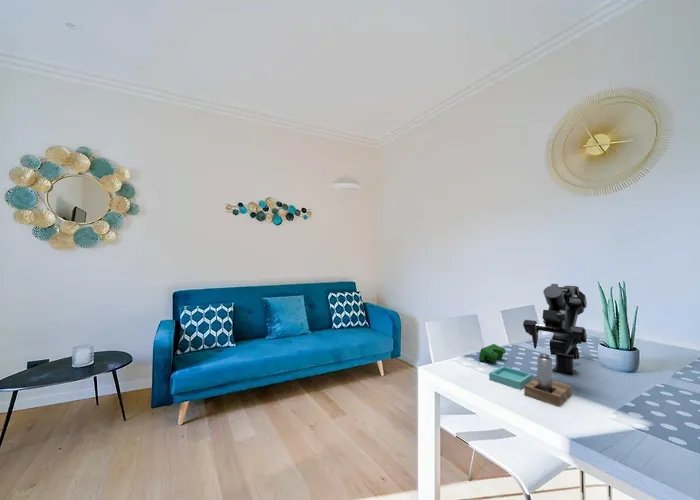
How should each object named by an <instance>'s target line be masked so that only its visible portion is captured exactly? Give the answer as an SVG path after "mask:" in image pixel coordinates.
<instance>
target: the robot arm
mask: <svg viewBox="0 0 700 500" xmlns="http://www.w3.org/2000/svg"><path fill="white" fill-rule="evenodd" d="M542 292H543V295H544V298H545V301H546V305H548V309H543V311H542V319H543V322H542V323H543V324H544V325H542V324H538V323H537V320H532V319H525V320H524V321H523V323H522V326H523V328H524V331H525V333H527V334H528V335H529V336H531V339H532V342H533V343H532V344H533V347H534V349H537V347H538V340H539V331H540V332H541V331H542V332H546V333H553V335H552V337H551V339H549V352H550V355H551V356H555V367H554V368H552V372H553V371H554V372H557V373H560V374H565V375H567V376H568V375H569V376H573V375H574V374H575V373H577V369H574V360H579V359H580V351H579V348H578V346H577V345H578V344H579V345H580V344H582V343H584V344H586V343H587V339H588V334H587V331H586V329H585V327H582V326H576V324H577V320H578V316H579V315H581V314H583V313H584V312H585V309H586V308H587V306H588V305H587V303H588V302H587V297H586V295H585V294H584V292H582V291H581V290H580V288H579V286H577V285H564V286H559V284H557V283H551V284H550V285H549V286H547V287H545V288H544V289H543V291H542Z"/></svg>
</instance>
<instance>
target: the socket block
mask: <svg viewBox="0 0 700 500" xmlns="http://www.w3.org/2000/svg"><path fill="white" fill-rule="evenodd" d="M523 389H524V392H523V393H524V396H527V397H530V398H533V399H535V400H539V401H542V402H544V403H548V404H550V405H552V406H553V405H554V406H556V407H560V406H562V404H564V403H565V402H566V401H567V400H568V399H569V398H571V396H572V385H569V384H566V383H563V382H559V381H555V380H552V393H549V392H545V391H542V390H539V389H538V376H536V378H533V380H532V381H531V382H529V383H528V384H526V385H525V386H524V387H523Z"/></svg>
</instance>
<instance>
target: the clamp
mask: <svg viewBox="0 0 700 500" xmlns="http://www.w3.org/2000/svg"><path fill="white" fill-rule="evenodd" d="M506 352H507V350H506V349H505V348H503V347H501V346H499V345H497V344H495V343H493V344H490V345H488V346H485V347H481V349H480V353H479V356H478V360H480V361H481V362H483V363H485V362H487V361H488V362H491V363H493V364H497V360H498V361H500V362H501V361H502V360H503V356H504V355H505V354H506Z"/></svg>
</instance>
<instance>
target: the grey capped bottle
mask: <svg viewBox="0 0 700 500" xmlns="http://www.w3.org/2000/svg"><path fill="white" fill-rule="evenodd" d="M539 354H540V355H539V356H537V377H538V389H539V390H542V391H545V392H549V393H552V381H553V359H552V358H551V357H550V355H549V354H547V353H539Z"/></svg>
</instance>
